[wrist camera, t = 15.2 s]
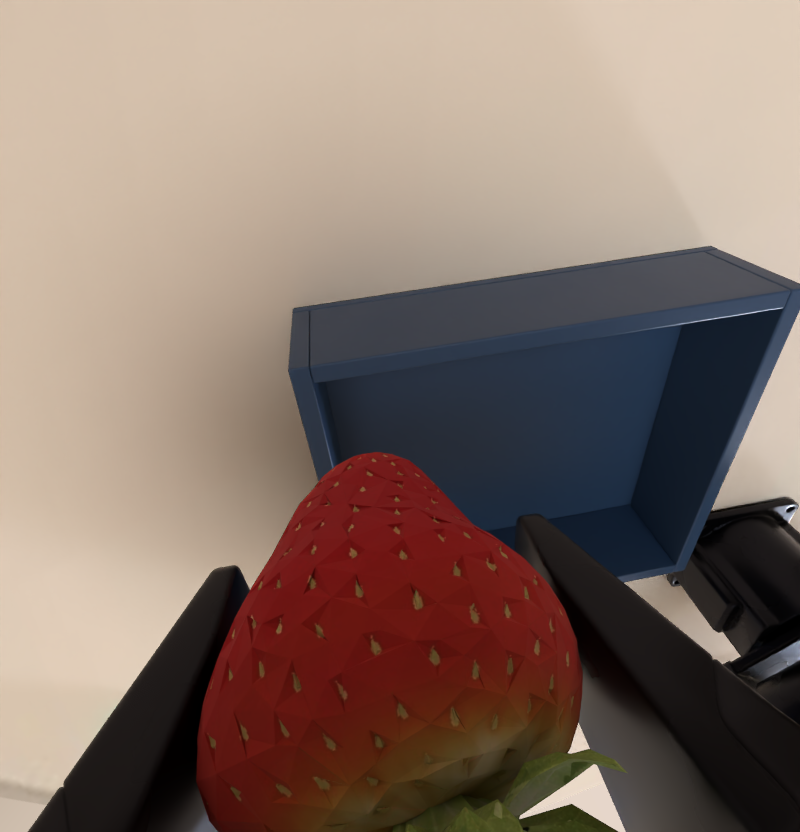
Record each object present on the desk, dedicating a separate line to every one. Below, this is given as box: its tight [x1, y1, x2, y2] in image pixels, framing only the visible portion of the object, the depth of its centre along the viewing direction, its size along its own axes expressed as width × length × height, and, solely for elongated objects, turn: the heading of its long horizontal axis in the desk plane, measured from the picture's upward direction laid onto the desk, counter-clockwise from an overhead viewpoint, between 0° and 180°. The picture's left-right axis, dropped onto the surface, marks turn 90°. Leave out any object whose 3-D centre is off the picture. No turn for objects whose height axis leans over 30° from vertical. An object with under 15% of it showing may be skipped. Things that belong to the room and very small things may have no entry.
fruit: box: [196, 452, 627, 832], centre depth 7 cm, size 5×5×8 cm
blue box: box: [288, 246, 800, 582], centre depth 20 cm, size 16×14×4 cm
